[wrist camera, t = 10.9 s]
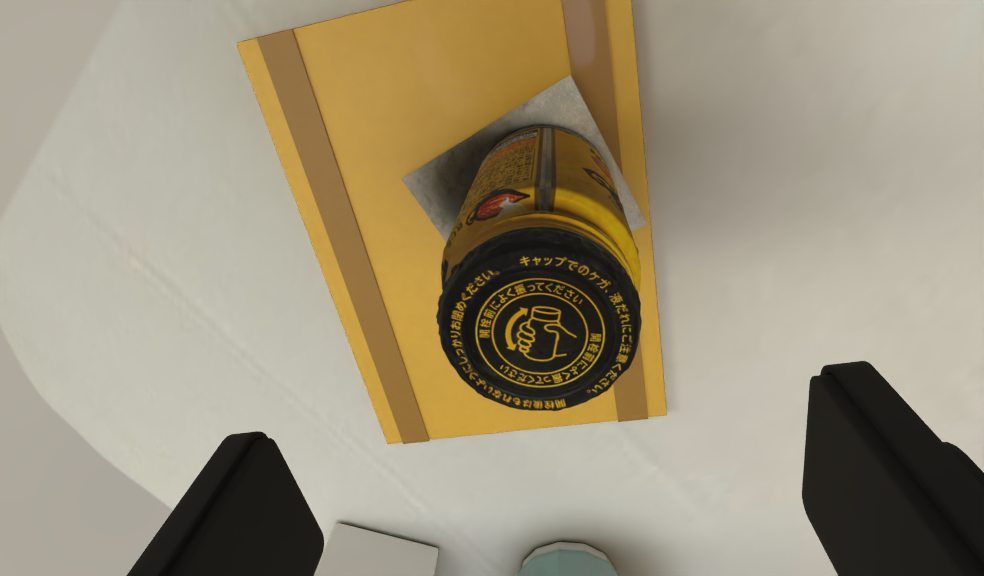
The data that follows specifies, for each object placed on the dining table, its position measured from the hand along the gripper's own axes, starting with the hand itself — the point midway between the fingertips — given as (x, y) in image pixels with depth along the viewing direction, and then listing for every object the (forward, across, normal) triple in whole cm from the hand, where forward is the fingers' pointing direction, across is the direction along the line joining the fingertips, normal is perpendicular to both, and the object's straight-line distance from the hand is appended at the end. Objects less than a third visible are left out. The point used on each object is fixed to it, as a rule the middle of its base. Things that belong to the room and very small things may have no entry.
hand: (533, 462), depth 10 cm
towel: (+17, +3, +3) cm, 17 cm away
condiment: (+17, +1, +1) cm, 17 cm away
